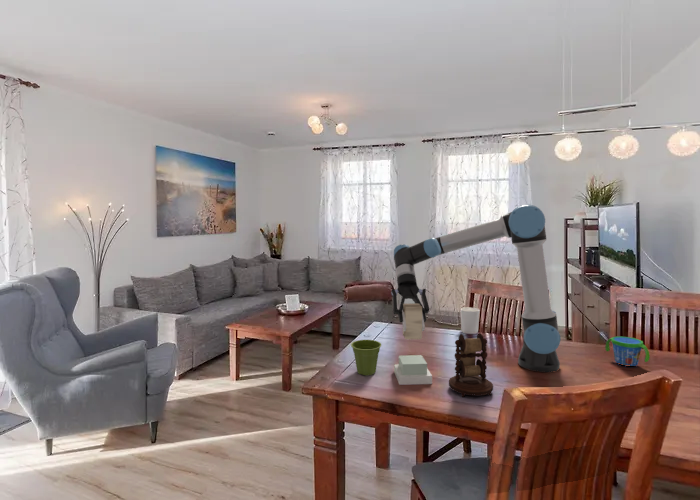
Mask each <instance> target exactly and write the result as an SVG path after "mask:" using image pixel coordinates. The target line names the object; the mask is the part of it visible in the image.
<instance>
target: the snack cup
mask: <svg viewBox="0 0 700 500" xmlns="http://www.w3.org/2000/svg"><path fill="white" fill-rule="evenodd" d="M610 342H611V344H612V348H613V350H612V351H613V357H614V361H616V362H617V363H620V364H623V365H630V366H636V365H637V366H638V364H639V360H640V358H641V352H642V349H643V350H644V353H645V356H644V362H645V363H647V362H649V361H650V351H649V349H648V347H647V346H646V345H645V344H644V341H643V340H640V339H638V338H635V337H630V336H629V337H628V336H621V335H620V336H613V337H610V338H608V339H607V341H606V342H605V346H604V348H605V352H610V351H611V348H610ZM616 362H615V363H616ZM637 366H636V367H637Z"/></svg>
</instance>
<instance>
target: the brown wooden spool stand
mask: <svg viewBox="0 0 700 500" xmlns="http://www.w3.org/2000/svg"><path fill="white" fill-rule="evenodd" d="M487 343H488V340H487V339H486V338H485V337H484V335H483V334H482V333H479V332H478V333H477V335H476V337H474V338H473V337H472V338H471V337H470V338H465V336H464V335H463V334H462V333H461V334H459V337H458V339H456V340H455V341H454V344H455V353H454V359H455V360H456V361H455V367H454V371H455V372H454V373H455V375H454V376H452V377H450V378H449V380H448V386H449V388H450V389H452V391H455V392H457V393H460V394H461V397H462V398H465V395H467V396H479V397H480V396H485V395H488V396H491V395H492V392H493V391H494V384H493V383H492V381H491V380H488V379H487V374H486V373H487V360H486V359H487V357H488V352H487V346H488V345H487ZM480 357H481V359H482V360H481V359H479V358H480ZM476 358H477V359H476Z"/></svg>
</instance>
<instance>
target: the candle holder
mask: <svg viewBox="0 0 700 500" xmlns="http://www.w3.org/2000/svg"><path fill="white" fill-rule="evenodd" d="M480 311H481V310H480V309H479V308H476V307H470V306H469V307H461V308H460V327H461V328H460V330H461V332H462V333H464V334H466V335H476V334H479V324H480V323H479V322H480Z"/></svg>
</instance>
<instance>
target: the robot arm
mask: <svg viewBox="0 0 700 500" xmlns="http://www.w3.org/2000/svg"><path fill="white" fill-rule="evenodd" d="M545 226H546V218H545V214H544V213H543V211H542V210H541V208H539V207H537V206H535V205H533V204H523V205H519V206H517V207H516V208H514V209H513V210H512V211H510V212H509V213H508V212H507V213H506V214H502V215H501V216H500V217H499V218H497V219H493V220H491V221H488V222H485V223H484V222H483V223H481V224H478V225H475V226H471V227H468V228H465V229H461V230H458V231H455V232H451V233H448V234H445V235H441V236H439V237H431V238H427V239H425V240H423V241H421V242H418V243H417V244H414V245H412V246H409V245H408V244H399V245H397V246H395V247H394V249H393V261H394V266H395V273H396V283H397V289H395V288H392V289H391V292H390V295H391V297H392V311H393V314H394V315H397V317H398V319H399V320H398V321H399V323H402V332H403V331H406V328H407V327H406V321H405V313H404V312H403V304H405V301H406V300H408V299H410V300H412V302H414V303H418V304H420V305H421V306H422V332H424V331H425V328H426V325H425V323H426V321H427V316H426V314H427V315H428V314H429V312H430V306H429V303H428V299H427V295H426V292H427V290H426V288H422V289H421V288H419V286H418V283H417V282H418V281H417V279H416V278H417V277H416V271H415V265H417V264H419V263H422V262H425V261H427V260H430V259H433V258H435V257H437V256H441V255H445V254H448V253H450V252H455V251H458V250H462V249H465V248H468V247H473V246H476V245H480V244H484V243H487V242H490V241H494V240H497V239H501V238H504V237H506V238H508V239H511V245H513V246H514V247H516V249H517V257H518V258H517V259H518V264H519V265H518V266H519V273H520V279H521V286H522V287H521V288H522V294H523V302H524V303H523V304H524V312H523V313H522V314H521V321H522V330H523V337H522V338H523V340H522V341H523V343H522V344H523V345H522V347H521V350H520V351H519V355H518V361H517V363H518V365H519V366H520V367H521V368H524V369H527V370H530V371H533V372H538V371H539V372H538V373H554V372H553V371H555V372H558V371H559V370H560V369H559V368H561V367H560V365H561V363H560V359H559V357H558V354H557V353H558V352H557V349H558V348H559V346H560V343H561V339H562V338H561V334H560V332H559V324H558V316H557V312H556V311H555V310H552V308H551V307H552V306H551V300H550V292H549V285H548V284H549V283H548V276H547V269H546V268H547V267H546V262H545V255H544V254H545V253H544V245H543V244H544V243H545V242H546V241H547V232H546V227H545ZM418 293H419V295H420V296H421V300H420V299H419V295H418ZM398 294H399V296H401V300H400V304H399V309H398V300H397V298H398V297H397V296H398ZM421 302H422V303H421ZM558 369H559V370H558ZM557 370H558V371H557Z"/></svg>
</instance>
